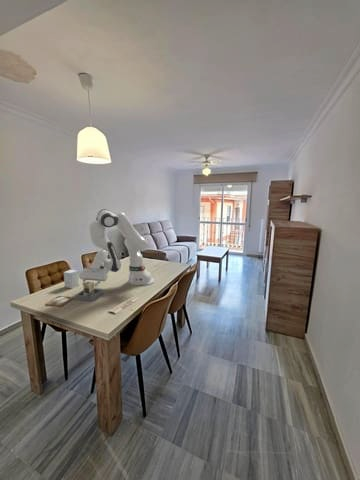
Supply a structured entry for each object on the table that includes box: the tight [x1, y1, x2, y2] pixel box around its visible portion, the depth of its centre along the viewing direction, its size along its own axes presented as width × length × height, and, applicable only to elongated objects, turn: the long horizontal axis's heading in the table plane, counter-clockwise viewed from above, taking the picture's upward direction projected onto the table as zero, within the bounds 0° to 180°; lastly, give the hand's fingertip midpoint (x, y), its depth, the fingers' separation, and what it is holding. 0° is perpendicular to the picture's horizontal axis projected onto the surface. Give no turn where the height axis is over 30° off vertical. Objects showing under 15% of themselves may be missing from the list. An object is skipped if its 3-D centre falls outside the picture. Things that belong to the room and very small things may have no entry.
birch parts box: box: [82, 281, 95, 296], centre depth 144 cm, size 5×5×10 cm
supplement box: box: [63, 269, 80, 289], centre depth 161 cm, size 7×7×13 cm
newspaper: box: [108, 295, 140, 315], centre depth 133 cm, size 24×7×2 cm, turn 155°
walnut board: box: [44, 295, 75, 307], centre depth 136 cm, size 12×12×1 cm
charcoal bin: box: [74, 288, 103, 302], centre depth 144 cm, size 13×13×3 cm
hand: (89, 285), depth 145 cm, fingers open, 8 cm apart
